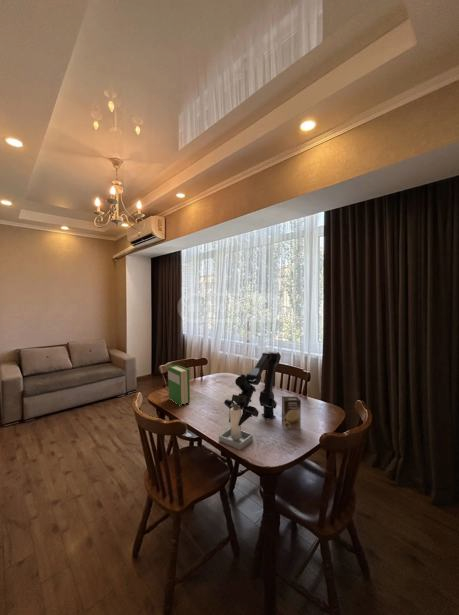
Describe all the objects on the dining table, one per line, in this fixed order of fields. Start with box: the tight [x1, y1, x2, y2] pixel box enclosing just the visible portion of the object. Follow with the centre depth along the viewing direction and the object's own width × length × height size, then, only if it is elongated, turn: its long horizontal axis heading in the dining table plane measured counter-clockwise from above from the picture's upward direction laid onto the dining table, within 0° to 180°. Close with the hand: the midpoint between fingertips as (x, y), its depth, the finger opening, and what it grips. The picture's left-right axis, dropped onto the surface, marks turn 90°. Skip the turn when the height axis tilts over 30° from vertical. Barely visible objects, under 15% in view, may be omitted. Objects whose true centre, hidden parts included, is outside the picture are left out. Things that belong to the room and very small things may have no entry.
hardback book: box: [167, 364, 191, 407], centre depth 176 cm, size 18×7×24 cm, turn 39°
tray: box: [218, 427, 254, 452], centre depth 126 cm, size 11×13×3 cm
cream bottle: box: [229, 405, 242, 440], centre depth 126 cm, size 5×5×16 cm
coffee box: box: [281, 395, 302, 430], centre depth 138 cm, size 9×6×16 cm
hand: (234, 423), depth 125 cm, fingers closed on cream bottle, 5 cm apart
